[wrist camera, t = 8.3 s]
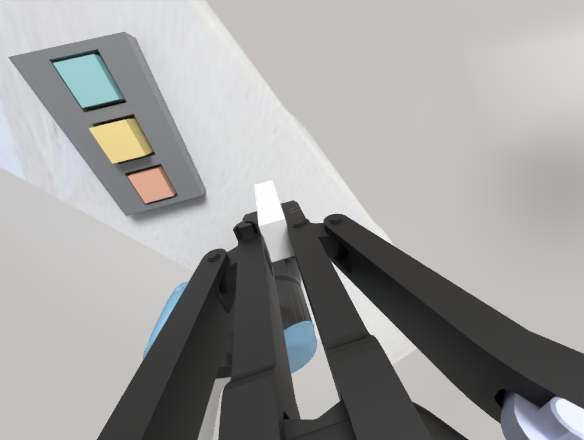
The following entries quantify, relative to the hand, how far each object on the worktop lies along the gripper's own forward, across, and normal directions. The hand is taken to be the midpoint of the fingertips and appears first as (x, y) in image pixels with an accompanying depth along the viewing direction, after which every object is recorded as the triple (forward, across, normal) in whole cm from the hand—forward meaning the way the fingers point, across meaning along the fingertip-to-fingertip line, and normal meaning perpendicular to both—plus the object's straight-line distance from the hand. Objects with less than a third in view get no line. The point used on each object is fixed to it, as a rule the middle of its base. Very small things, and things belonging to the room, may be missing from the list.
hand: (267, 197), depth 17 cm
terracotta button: (+24, +19, +1) cm, 30 cm away
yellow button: (+22, +19, -6) cm, 30 cm away
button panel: (+24, +19, -6) cm, 31 cm away
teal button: (+24, +19, -14) cm, 33 cm away
